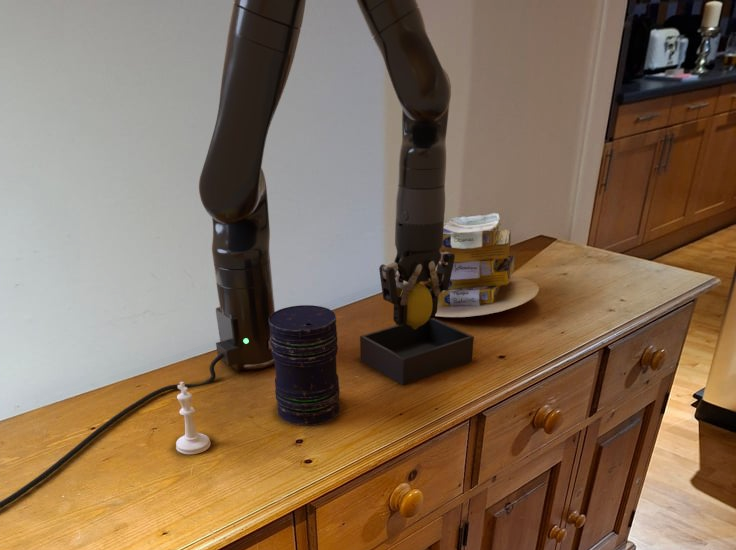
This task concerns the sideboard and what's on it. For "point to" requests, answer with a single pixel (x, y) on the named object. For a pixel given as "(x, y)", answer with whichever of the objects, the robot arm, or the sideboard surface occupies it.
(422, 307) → the lemon
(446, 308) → the plate of stacked packets
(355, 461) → the sideboard surface
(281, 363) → the storage jar
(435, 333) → the bin
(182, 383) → the chess piece
